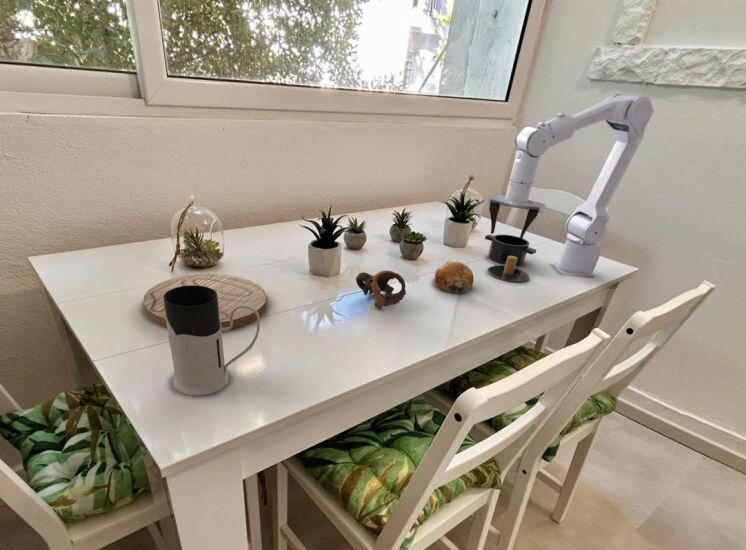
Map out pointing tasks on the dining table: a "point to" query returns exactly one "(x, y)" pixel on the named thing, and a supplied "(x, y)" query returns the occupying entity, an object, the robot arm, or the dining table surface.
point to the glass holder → (198, 339)
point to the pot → (508, 248)
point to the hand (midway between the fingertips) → (506, 235)
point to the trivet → (228, 293)
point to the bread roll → (454, 277)
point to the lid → (508, 271)
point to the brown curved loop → (381, 287)
